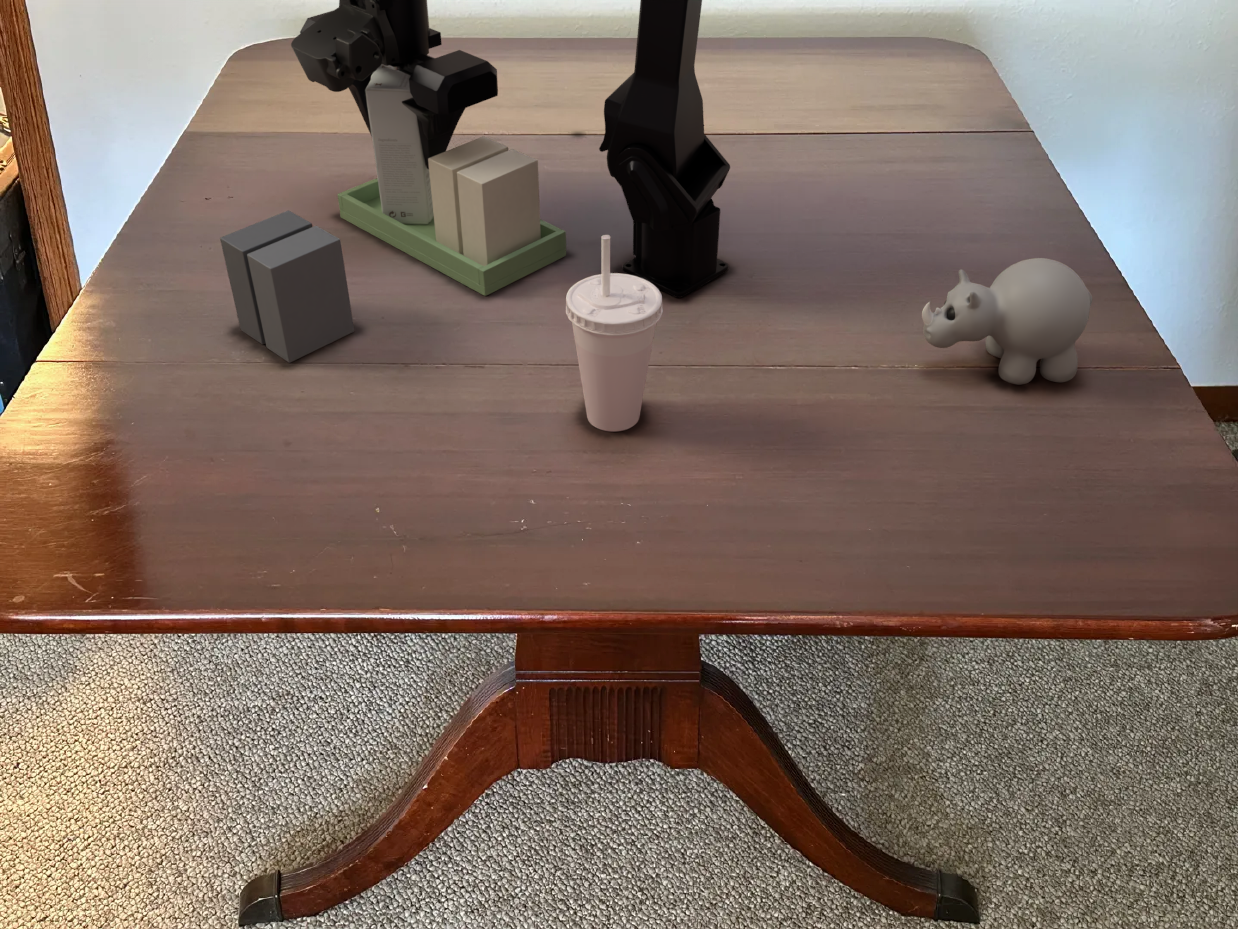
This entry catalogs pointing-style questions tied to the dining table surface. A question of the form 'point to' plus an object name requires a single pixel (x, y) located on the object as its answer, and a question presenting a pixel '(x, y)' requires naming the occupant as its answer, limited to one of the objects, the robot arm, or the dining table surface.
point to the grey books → (288, 284)
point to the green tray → (421, 244)
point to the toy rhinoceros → (1018, 319)
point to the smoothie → (613, 341)
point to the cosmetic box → (398, 149)
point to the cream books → (485, 199)
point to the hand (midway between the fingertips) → (406, 155)
